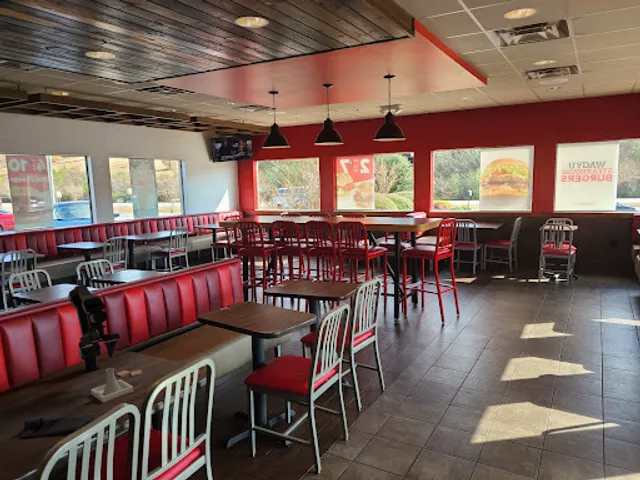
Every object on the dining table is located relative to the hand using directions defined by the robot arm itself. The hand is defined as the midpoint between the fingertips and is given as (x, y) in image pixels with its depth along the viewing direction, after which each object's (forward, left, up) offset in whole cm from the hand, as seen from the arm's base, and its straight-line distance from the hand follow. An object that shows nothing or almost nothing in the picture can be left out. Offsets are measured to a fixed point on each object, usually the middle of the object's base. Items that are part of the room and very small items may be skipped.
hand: (102, 359), depth 210 cm
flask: (+14, -2, -11) cm, 18 cm away
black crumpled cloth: (+26, -27, -12) cm, 39 cm away
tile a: (-4, +10, -12) cm, 16 cm away
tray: (+13, -2, -11) cm, 18 cm away
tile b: (+1, +14, -12) cm, 18 cm away
